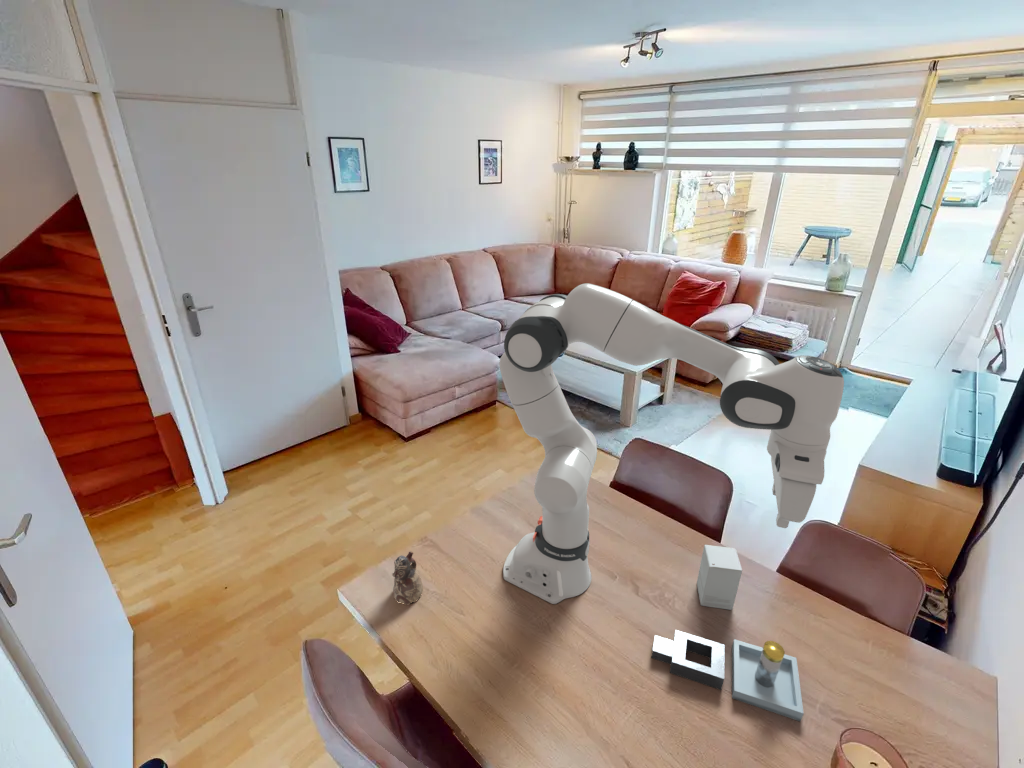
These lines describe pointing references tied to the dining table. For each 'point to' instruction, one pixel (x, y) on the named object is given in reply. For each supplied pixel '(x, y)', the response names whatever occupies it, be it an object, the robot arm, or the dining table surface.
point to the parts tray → (748, 690)
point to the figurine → (406, 580)
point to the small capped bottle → (769, 663)
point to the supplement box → (719, 577)
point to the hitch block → (675, 656)
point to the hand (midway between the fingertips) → (779, 508)
